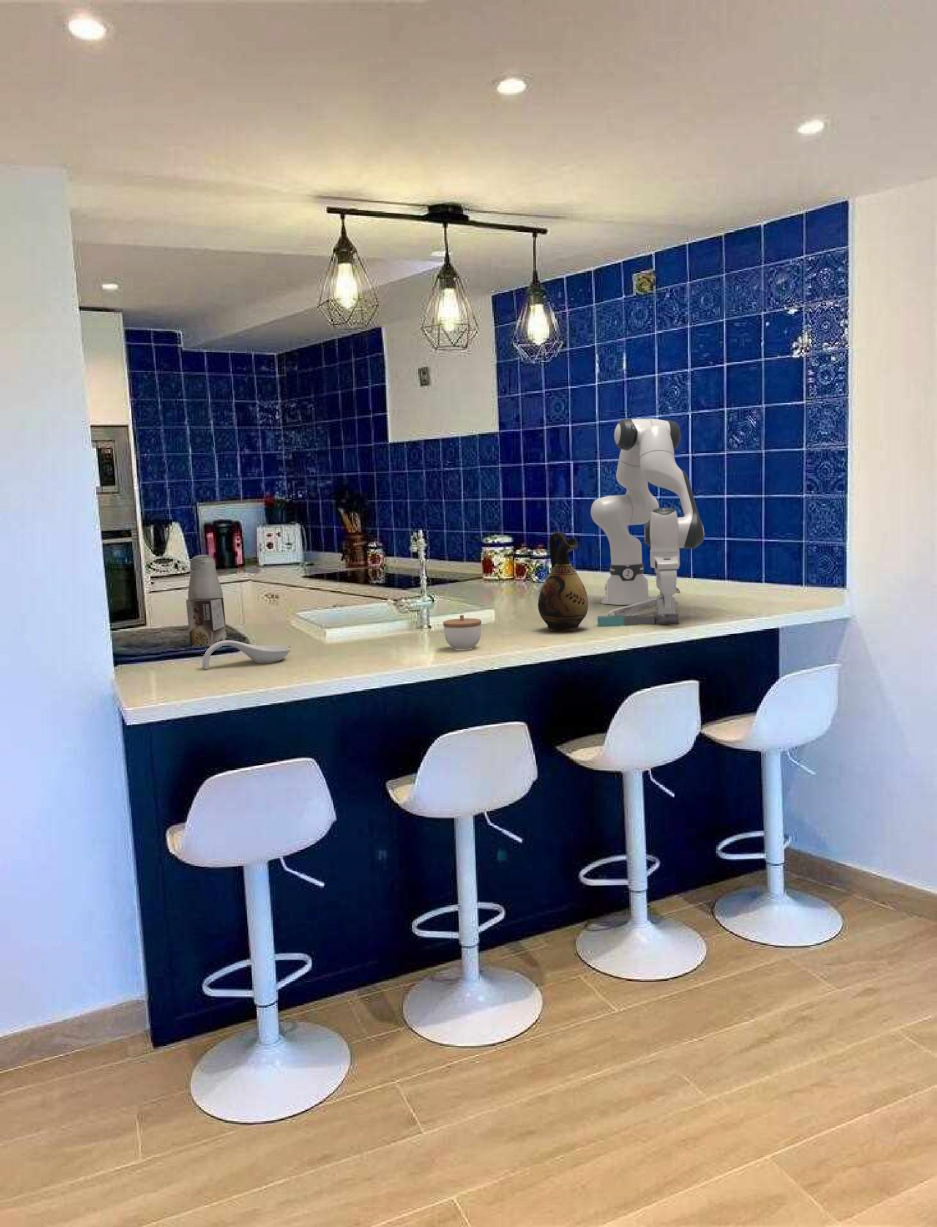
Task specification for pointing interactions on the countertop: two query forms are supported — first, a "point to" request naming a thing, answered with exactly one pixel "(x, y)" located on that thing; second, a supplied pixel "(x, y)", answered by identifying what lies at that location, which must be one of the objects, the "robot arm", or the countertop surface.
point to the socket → (661, 609)
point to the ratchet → (638, 619)
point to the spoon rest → (249, 652)
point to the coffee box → (206, 621)
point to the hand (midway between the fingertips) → (665, 605)
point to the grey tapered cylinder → (203, 578)
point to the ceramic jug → (562, 589)
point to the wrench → (638, 607)
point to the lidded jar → (462, 632)
